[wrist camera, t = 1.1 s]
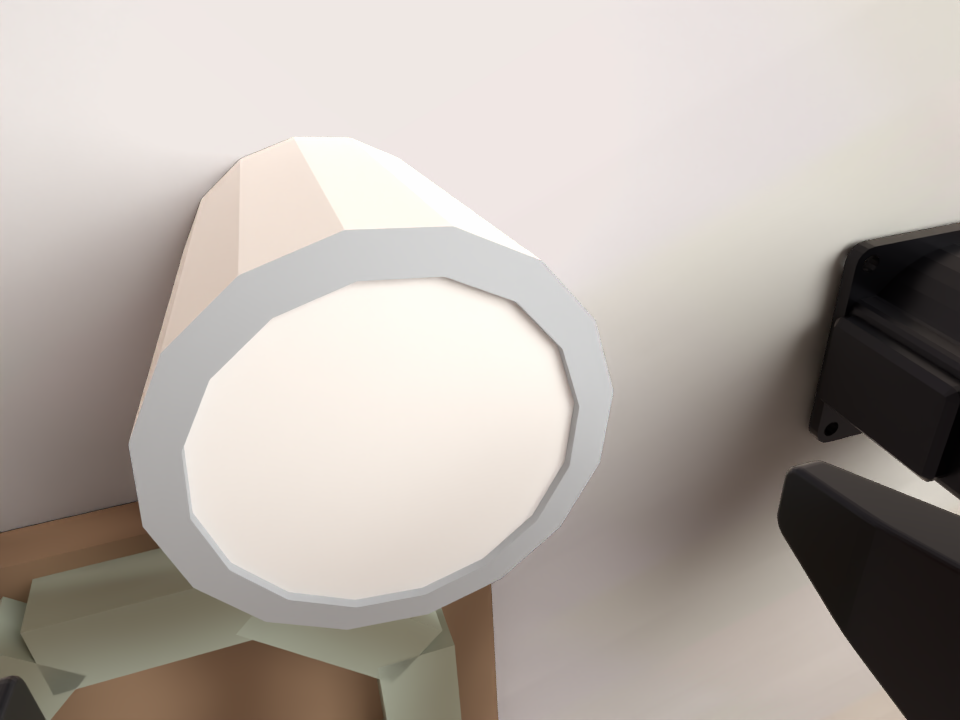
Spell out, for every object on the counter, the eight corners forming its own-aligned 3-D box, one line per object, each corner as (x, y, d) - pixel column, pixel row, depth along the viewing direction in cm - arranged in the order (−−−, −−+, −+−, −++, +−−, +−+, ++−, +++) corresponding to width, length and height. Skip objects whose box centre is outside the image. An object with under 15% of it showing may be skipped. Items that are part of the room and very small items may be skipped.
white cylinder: (96, 139, 14) (32, 304, 8) (456, 73, 15) (614, 173, 10) (208, 436, 18) (218, 692, 12) (490, 360, 19) (620, 556, 13)
